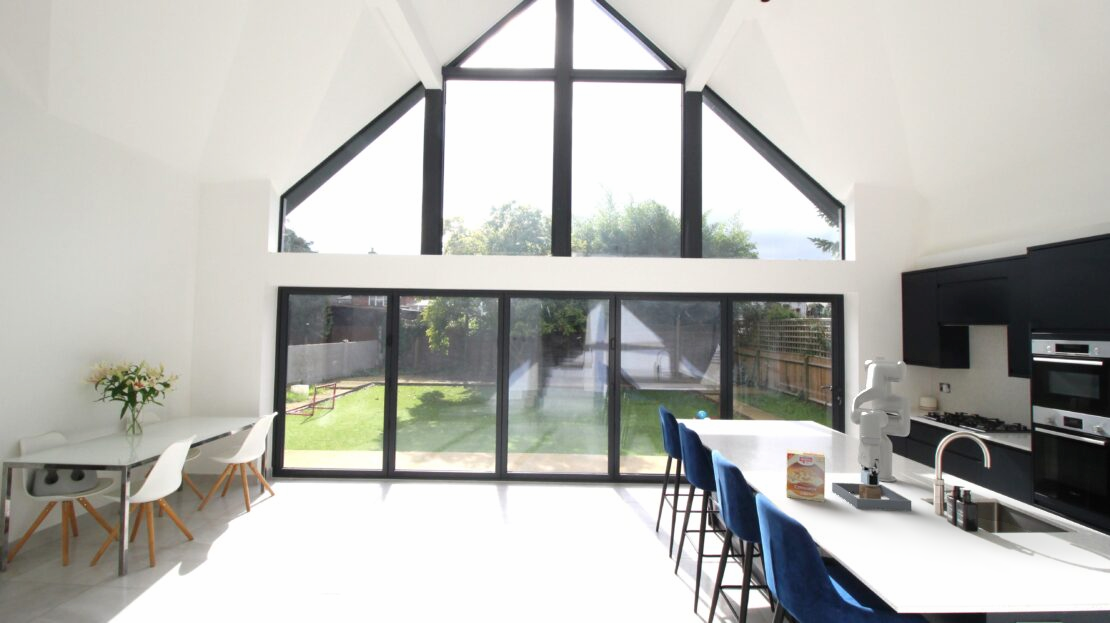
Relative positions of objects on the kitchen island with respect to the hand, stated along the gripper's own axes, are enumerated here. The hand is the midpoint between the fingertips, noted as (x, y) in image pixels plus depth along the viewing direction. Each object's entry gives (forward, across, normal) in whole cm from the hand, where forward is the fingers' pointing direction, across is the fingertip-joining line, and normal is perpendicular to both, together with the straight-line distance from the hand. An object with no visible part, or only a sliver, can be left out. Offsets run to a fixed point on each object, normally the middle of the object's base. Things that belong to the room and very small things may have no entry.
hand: (869, 482), depth 223 cm
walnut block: (+8, 0, 0) cm, 8 cm away
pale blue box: (+1, 0, 0) cm, 1 cm away
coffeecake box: (+8, -1, -27) cm, 28 cm away
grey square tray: (+8, 0, 0) cm, 8 cm away
